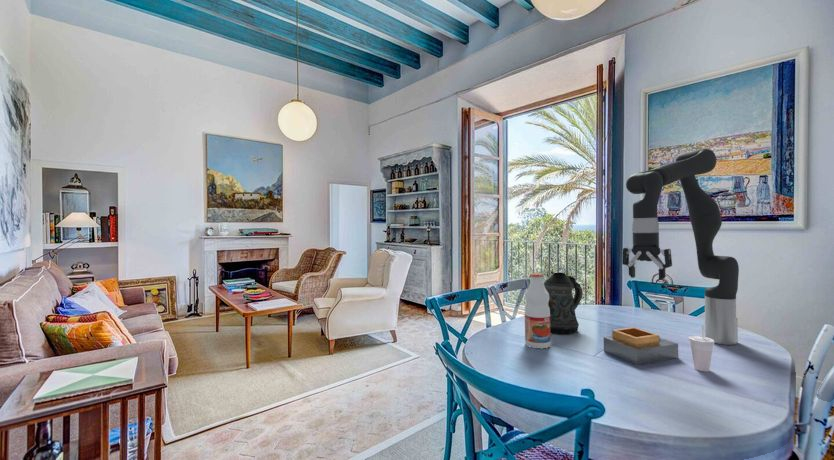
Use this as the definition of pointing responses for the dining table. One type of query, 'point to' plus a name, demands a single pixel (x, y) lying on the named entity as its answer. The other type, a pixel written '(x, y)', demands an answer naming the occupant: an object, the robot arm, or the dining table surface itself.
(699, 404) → the dining table surface
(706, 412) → the dining table surface
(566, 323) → the beer stein
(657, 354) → the grey flat boxy piece
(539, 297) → the fruit juice
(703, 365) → the smoothie
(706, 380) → the dining table surface
